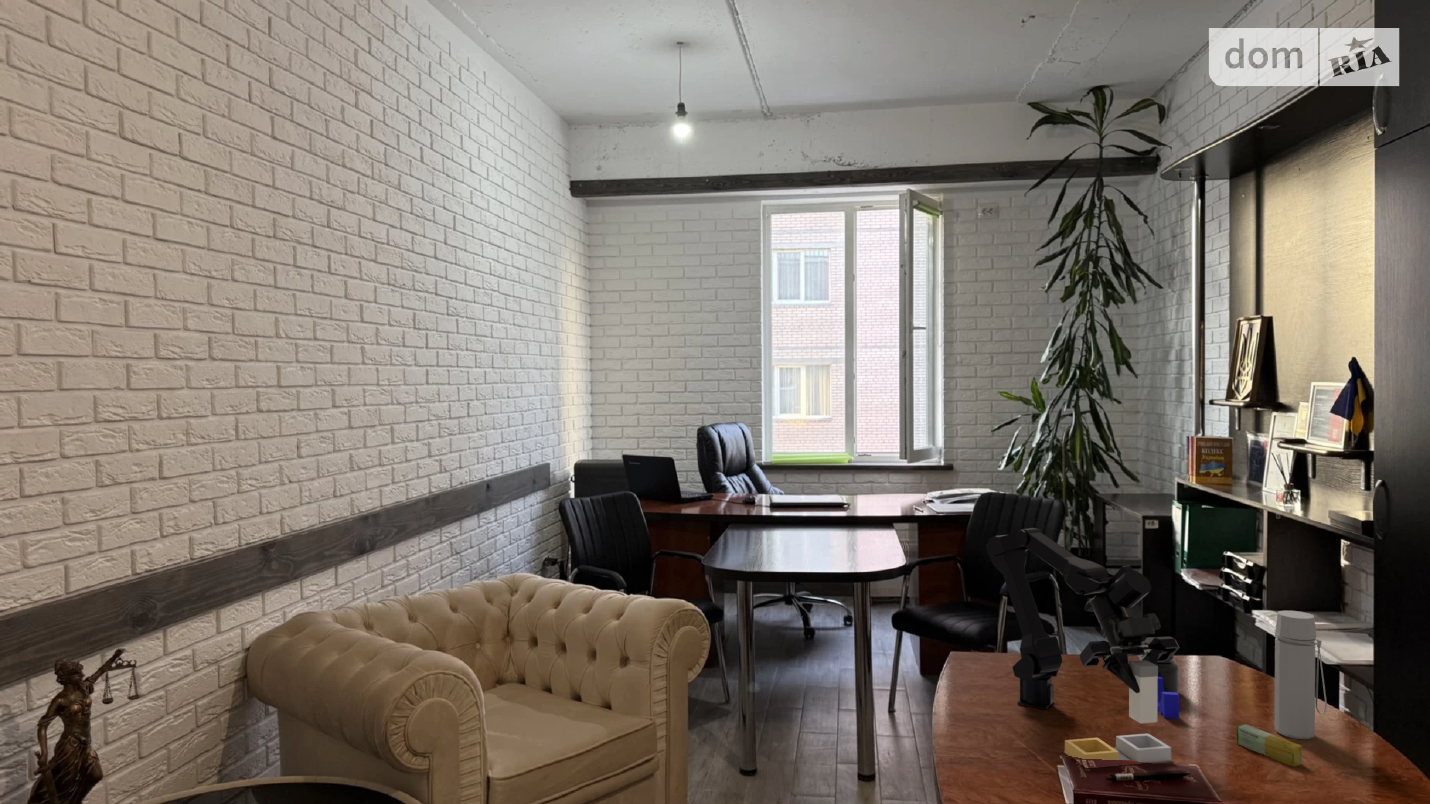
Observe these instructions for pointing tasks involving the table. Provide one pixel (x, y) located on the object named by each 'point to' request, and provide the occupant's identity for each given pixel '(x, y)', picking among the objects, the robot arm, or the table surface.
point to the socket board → (1121, 749)
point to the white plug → (1144, 692)
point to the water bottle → (1296, 674)
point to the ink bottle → (1167, 671)
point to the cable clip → (1167, 702)
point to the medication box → (1269, 745)
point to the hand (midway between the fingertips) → (1147, 691)
